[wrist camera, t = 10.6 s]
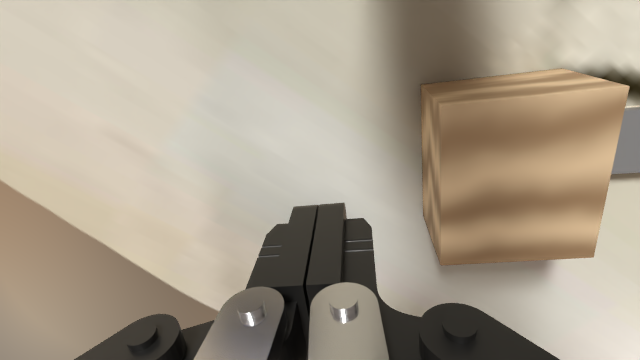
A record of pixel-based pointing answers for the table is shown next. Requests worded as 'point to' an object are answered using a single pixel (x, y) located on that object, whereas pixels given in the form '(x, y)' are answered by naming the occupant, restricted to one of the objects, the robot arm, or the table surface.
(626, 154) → the coaster
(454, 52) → the table surface
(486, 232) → the oak block
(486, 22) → the table surface
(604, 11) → the table surface
